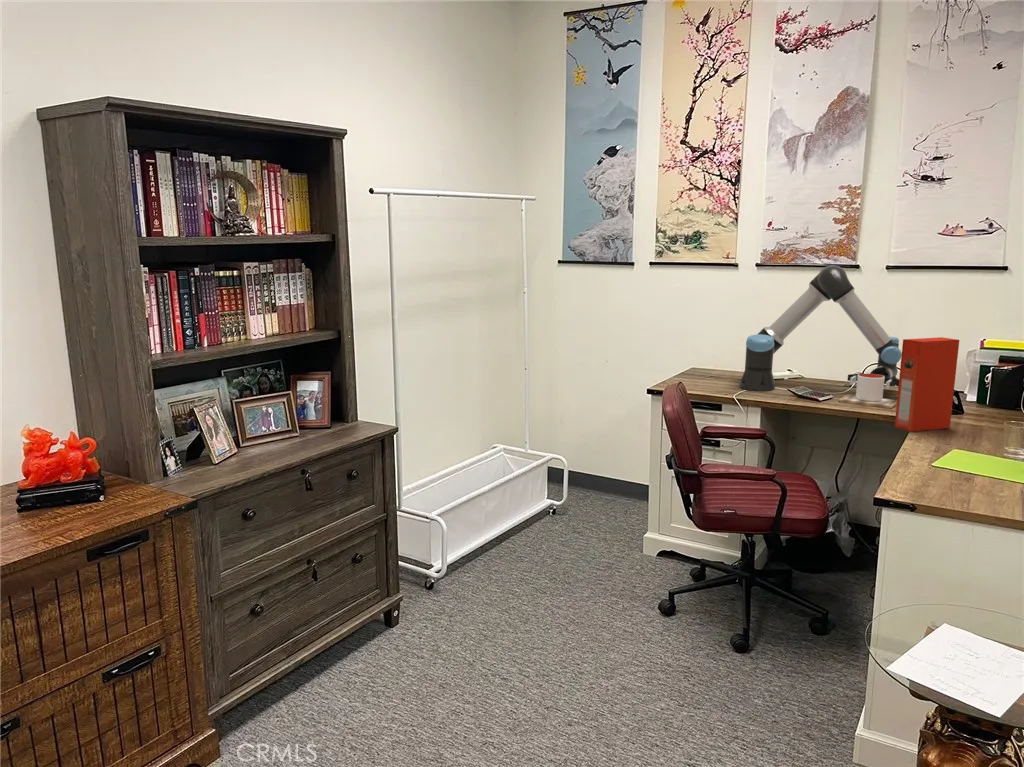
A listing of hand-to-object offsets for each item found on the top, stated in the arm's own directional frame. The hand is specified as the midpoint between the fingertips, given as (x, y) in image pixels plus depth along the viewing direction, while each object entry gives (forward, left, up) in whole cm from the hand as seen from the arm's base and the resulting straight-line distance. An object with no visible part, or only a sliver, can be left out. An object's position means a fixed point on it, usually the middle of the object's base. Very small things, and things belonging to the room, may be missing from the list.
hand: (868, 383), depth 308 cm
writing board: (0, +3, -8) cm, 9 cm away
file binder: (+25, -29, -9) cm, 40 cm away
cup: (0, +3, -7) cm, 8 cm away
